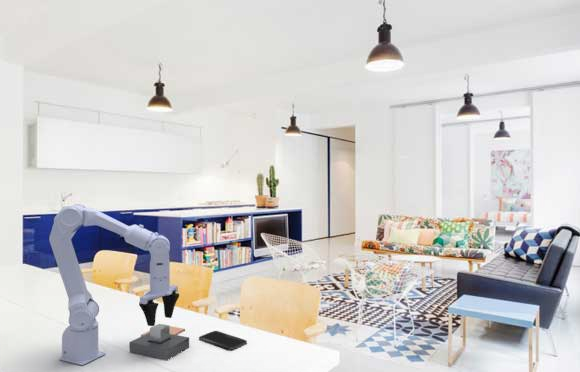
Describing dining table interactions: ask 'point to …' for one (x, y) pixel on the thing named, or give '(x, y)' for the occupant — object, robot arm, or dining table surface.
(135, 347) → the socket plate
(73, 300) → the robot arm
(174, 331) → the mat
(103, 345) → the dining table surface
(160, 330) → the steel peg
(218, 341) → the phone
